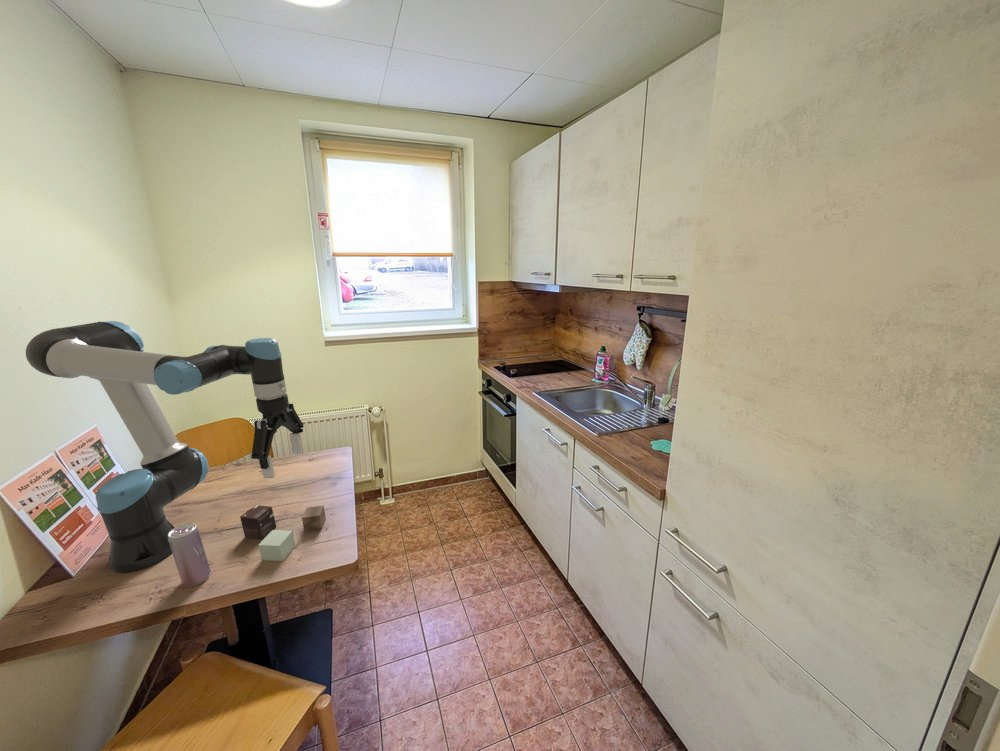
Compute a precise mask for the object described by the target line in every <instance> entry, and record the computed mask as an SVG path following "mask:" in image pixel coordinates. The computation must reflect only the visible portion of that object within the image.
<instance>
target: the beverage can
mask: <svg viewBox="0 0 1000 751" xmlns="http://www.w3.org/2000/svg"><path fill="white" fill-rule="evenodd" d="M168 542H169V545H170V548H171V551H172V553H171V554H172V556H173V560H174V563H175V566H176V568H177V572H178V574H179V578H180V581H181V585H183V586H184V587H188V588H189V587H190V588H191V587H195V586H198V585H201V584H202V583H204V582H206V580H208V578H209V576H210V574H211V568H210V564H209V560H208V557H207V553H206V550H205V546H204V544H203V540H202V537H201V533H200V530H199V528H198V526H197V524H196V523H194V522H188V523H184V524H180V525H177V526H176V527H175V528H174V529H173V530H171V531H170V532H169V533H168Z"/></svg>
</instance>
